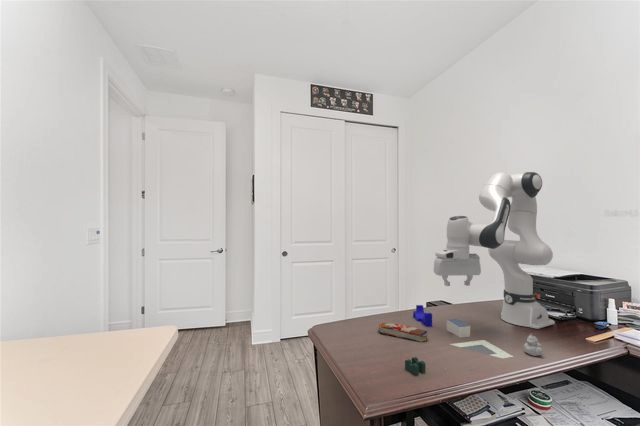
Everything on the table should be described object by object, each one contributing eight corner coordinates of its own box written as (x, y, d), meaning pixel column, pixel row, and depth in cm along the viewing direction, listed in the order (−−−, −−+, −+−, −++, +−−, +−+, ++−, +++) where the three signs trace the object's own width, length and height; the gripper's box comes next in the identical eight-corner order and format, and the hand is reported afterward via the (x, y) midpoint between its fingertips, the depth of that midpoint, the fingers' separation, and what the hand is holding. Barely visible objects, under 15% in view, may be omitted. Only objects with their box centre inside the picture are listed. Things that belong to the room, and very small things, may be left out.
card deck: (456, 329, 120) (456, 318, 120) (470, 337, 112) (470, 325, 112) (446, 330, 119) (446, 319, 119) (459, 338, 111) (459, 326, 111)
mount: (421, 368, 90) (421, 353, 90) (432, 375, 86) (432, 359, 86) (397, 378, 85) (397, 362, 85) (408, 386, 81) (408, 369, 81)
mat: (483, 341, 109) (483, 339, 109) (513, 358, 96) (513, 356, 96) (444, 346, 105) (444, 344, 105) (470, 364, 92) (470, 362, 92)
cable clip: (413, 317, 135) (413, 305, 135) (422, 317, 135) (422, 305, 135) (422, 327, 123) (422, 314, 123) (432, 327, 123) (432, 314, 123)
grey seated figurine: (519, 352, 100) (519, 330, 100) (531, 349, 102) (531, 328, 102) (535, 359, 95) (535, 337, 95) (547, 356, 97) (547, 334, 97)
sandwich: (387, 327, 123) (387, 316, 123) (431, 339, 111) (431, 327, 111) (375, 335, 115) (375, 323, 115) (422, 350, 102) (421, 337, 102)
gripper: (474, 252, 121) (473, 283, 121) (431, 252, 118) (431, 284, 118) (484, 254, 115) (484, 287, 115) (440, 254, 112) (439, 287, 112)
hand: (457, 285), depth 117 cm, fingers open, 8 cm apart
